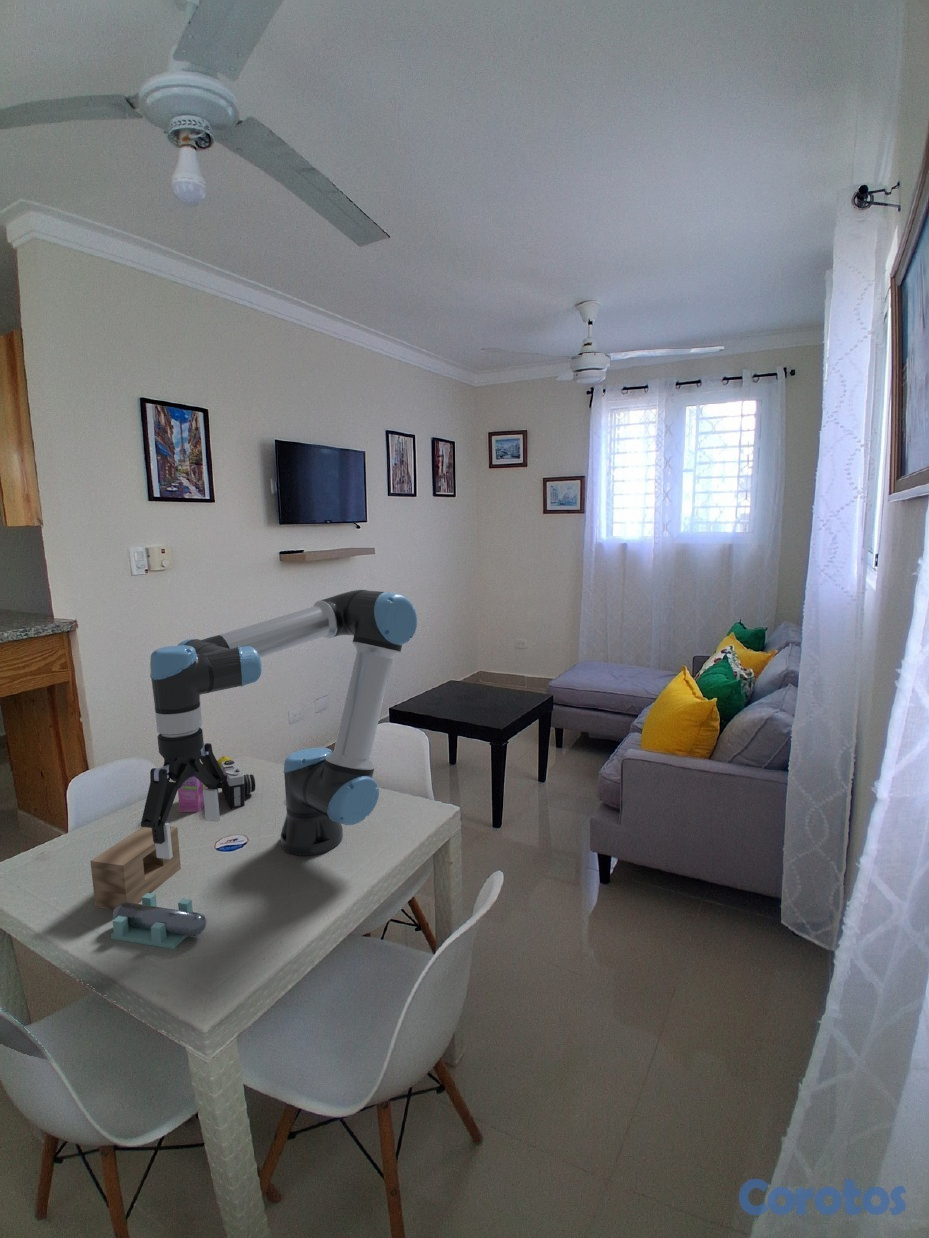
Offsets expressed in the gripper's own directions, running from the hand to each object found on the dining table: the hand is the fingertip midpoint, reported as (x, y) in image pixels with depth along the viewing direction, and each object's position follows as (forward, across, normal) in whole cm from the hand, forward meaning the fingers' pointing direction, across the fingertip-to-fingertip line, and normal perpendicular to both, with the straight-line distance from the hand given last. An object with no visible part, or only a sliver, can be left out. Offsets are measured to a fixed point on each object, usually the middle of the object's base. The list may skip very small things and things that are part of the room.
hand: (190, 837), depth 113 cm
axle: (+19, +1, -8) cm, 21 cm away
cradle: (+20, 0, -10) cm, 22 cm away
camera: (+21, -54, -27) cm, 64 cm away
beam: (+20, -11, -23) cm, 32 cm away
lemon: (+21, -65, -39) cm, 78 cm away
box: (+21, -49, -37) cm, 64 cm away
